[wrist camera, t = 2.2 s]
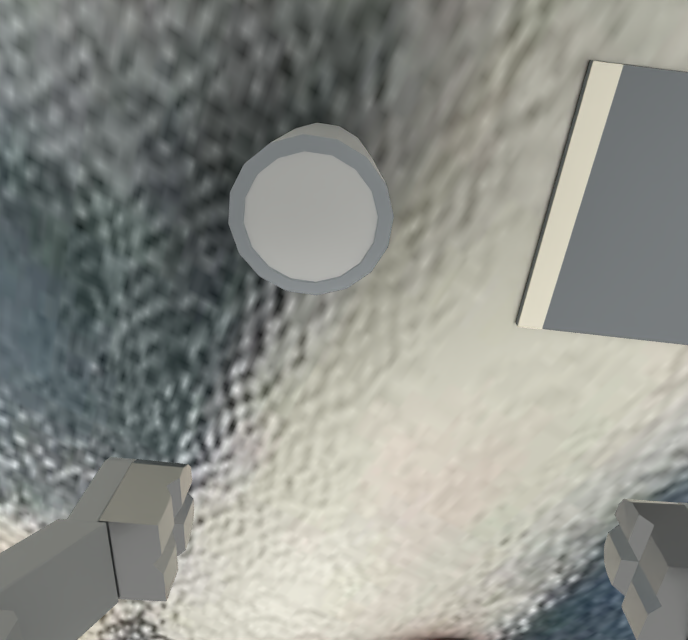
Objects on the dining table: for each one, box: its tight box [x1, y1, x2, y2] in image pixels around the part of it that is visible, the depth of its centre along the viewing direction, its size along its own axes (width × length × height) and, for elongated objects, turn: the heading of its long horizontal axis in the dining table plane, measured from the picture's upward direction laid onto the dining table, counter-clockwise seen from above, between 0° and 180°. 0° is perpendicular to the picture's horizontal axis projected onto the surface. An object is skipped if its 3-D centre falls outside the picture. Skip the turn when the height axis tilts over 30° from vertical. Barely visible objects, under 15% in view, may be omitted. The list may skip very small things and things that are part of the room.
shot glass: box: [228, 123, 394, 295], centre depth 27 cm, size 7×7×7 cm
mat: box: [516, 60, 688, 345], centre depth 30 cm, size 14×13×1 cm
